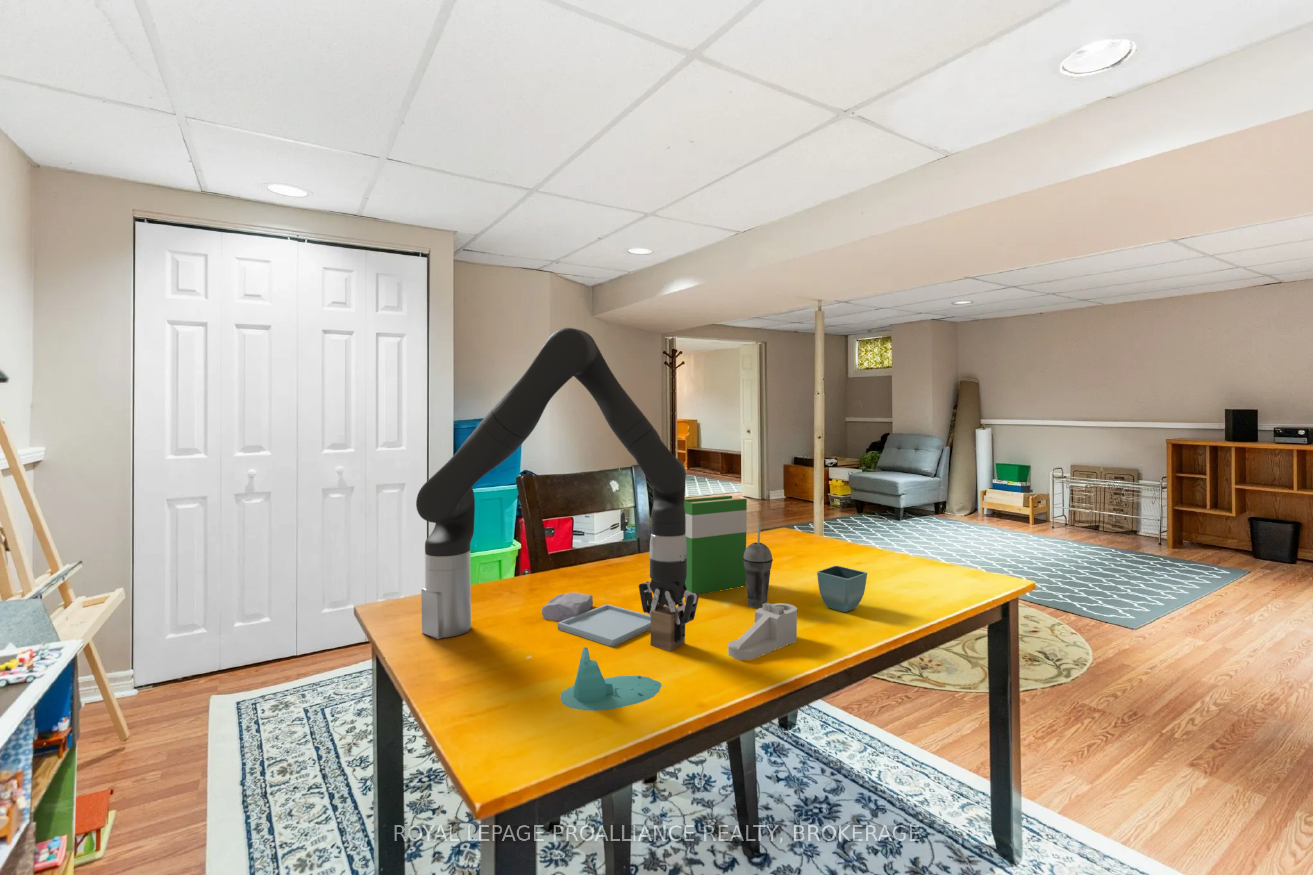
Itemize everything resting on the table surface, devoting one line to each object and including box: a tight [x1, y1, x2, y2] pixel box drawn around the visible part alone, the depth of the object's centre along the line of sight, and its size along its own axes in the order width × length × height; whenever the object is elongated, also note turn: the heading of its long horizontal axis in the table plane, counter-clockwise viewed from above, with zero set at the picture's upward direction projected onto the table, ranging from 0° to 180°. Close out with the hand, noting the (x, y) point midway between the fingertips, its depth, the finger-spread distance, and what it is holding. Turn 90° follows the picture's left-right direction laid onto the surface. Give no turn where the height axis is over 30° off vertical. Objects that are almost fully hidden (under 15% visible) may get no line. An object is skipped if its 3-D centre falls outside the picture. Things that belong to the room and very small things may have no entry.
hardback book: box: [684, 495, 748, 596], centre depth 160 cm, size 18×7×24 cm, turn 120°
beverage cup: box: [743, 523, 774, 609], centre depth 145 cm, size 7×7×20 cm
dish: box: [557, 603, 651, 648], centre depth 131 cm, size 16×16×1 cm
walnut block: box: [650, 605, 686, 652], centre depth 121 cm, size 5×5×7 cm
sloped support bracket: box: [727, 602, 798, 661], centre depth 120 cm, size 6×18×8 cm, turn 131°
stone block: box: [541, 592, 594, 622], centre depth 140 cm, size 12×5×10 cm
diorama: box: [559, 646, 666, 712], centre depth 100 cm, size 12×20×9 cm, turn 112°
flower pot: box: [816, 565, 868, 613], centre depth 144 cm, size 9×9×9 cm
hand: (667, 637), depth 121 cm, fingers closed on walnut block, 5 cm apart
